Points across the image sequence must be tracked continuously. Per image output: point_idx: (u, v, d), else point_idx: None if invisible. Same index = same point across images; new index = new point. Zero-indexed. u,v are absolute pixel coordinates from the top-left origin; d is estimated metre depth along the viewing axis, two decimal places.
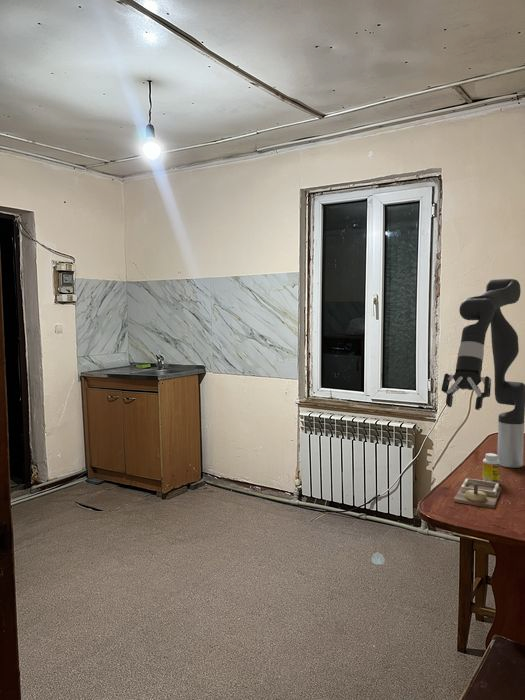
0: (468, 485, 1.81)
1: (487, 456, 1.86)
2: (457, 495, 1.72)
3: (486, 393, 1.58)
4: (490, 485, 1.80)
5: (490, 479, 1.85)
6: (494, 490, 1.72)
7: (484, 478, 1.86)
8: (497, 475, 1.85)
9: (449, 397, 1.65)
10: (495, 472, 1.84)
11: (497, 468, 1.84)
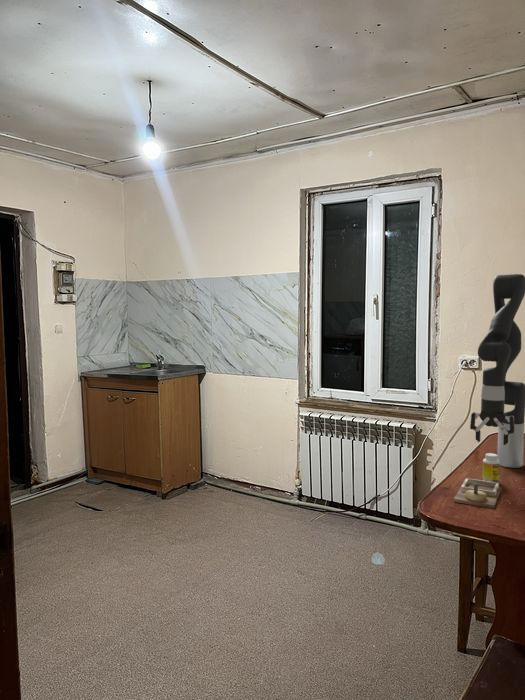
0: (468, 485, 1.81)
1: (487, 456, 1.86)
2: (457, 495, 1.72)
3: (512, 432, 1.81)
4: (490, 485, 1.80)
5: (490, 479, 1.85)
6: (494, 490, 1.72)
7: (484, 478, 1.86)
8: (497, 475, 1.85)
9: (478, 434, 1.87)
10: (495, 472, 1.84)
11: (497, 468, 1.84)
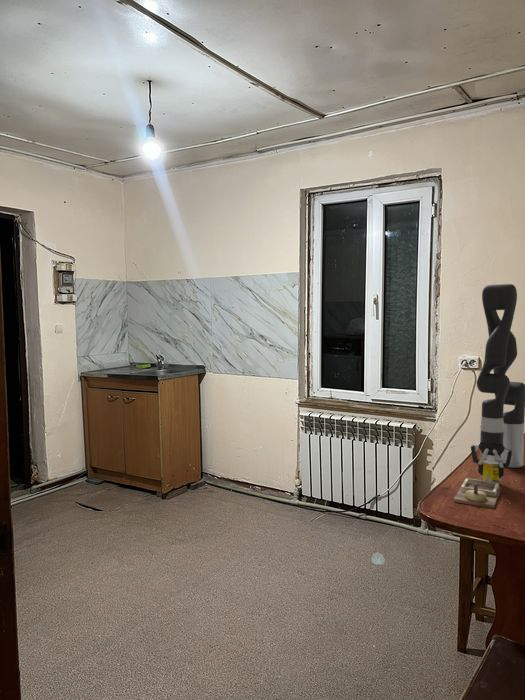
0: (468, 485, 1.81)
1: (487, 456, 1.86)
2: (457, 495, 1.72)
3: (507, 465, 1.83)
4: (490, 485, 1.80)
5: (490, 479, 1.85)
6: (494, 490, 1.72)
7: (484, 478, 1.86)
8: (497, 475, 1.85)
9: (481, 468, 1.87)
10: (496, 472, 1.84)
11: (497, 468, 1.84)
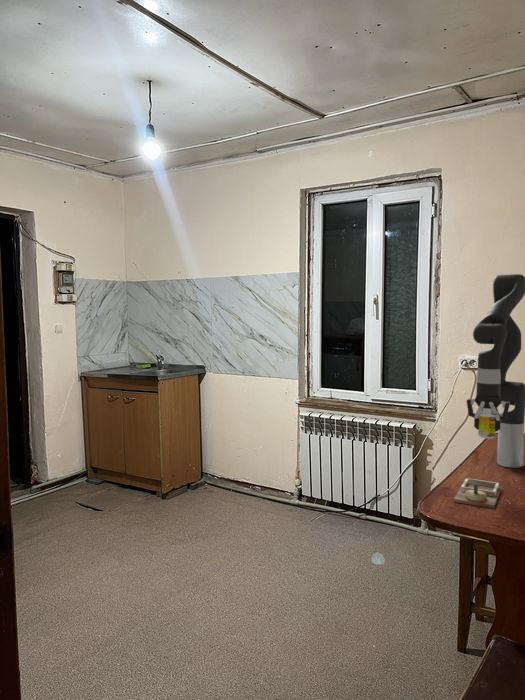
0: (468, 485, 1.81)
1: (483, 409, 1.80)
2: (457, 495, 1.72)
3: (504, 418, 1.77)
4: (490, 485, 1.80)
5: (486, 433, 1.79)
6: (494, 490, 1.72)
7: (480, 432, 1.80)
8: (493, 429, 1.79)
9: (477, 422, 1.82)
10: (492, 425, 1.78)
11: (494, 421, 1.78)
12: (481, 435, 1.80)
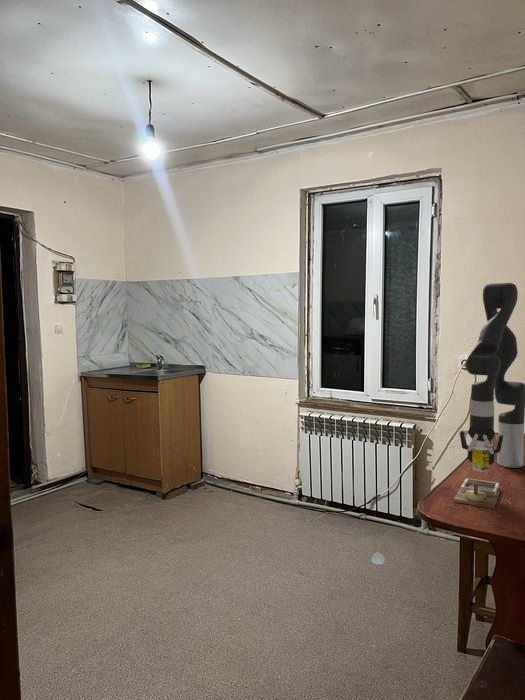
0: (468, 485, 1.81)
1: (477, 442, 1.75)
2: (457, 495, 1.72)
3: (498, 451, 1.73)
4: (490, 485, 1.80)
5: (480, 466, 1.74)
6: (494, 490, 1.72)
7: (473, 465, 1.76)
8: (487, 462, 1.74)
9: (470, 454, 1.77)
10: (486, 458, 1.74)
11: (487, 454, 1.74)
12: (474, 468, 1.76)
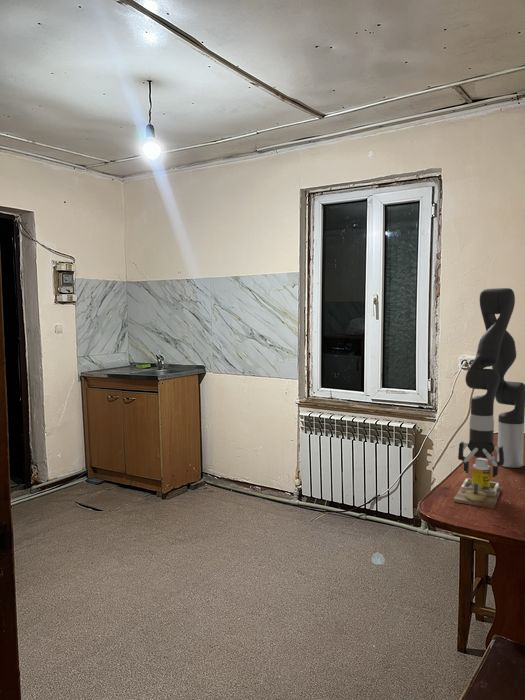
0: (468, 485, 1.81)
1: (477, 461, 1.76)
2: (457, 495, 1.72)
3: (502, 463, 1.72)
4: (490, 485, 1.80)
5: (480, 486, 1.75)
6: (494, 490, 1.72)
7: None
8: (487, 481, 1.75)
9: (466, 465, 1.78)
10: (486, 478, 1.74)
11: (487, 474, 1.75)
12: None
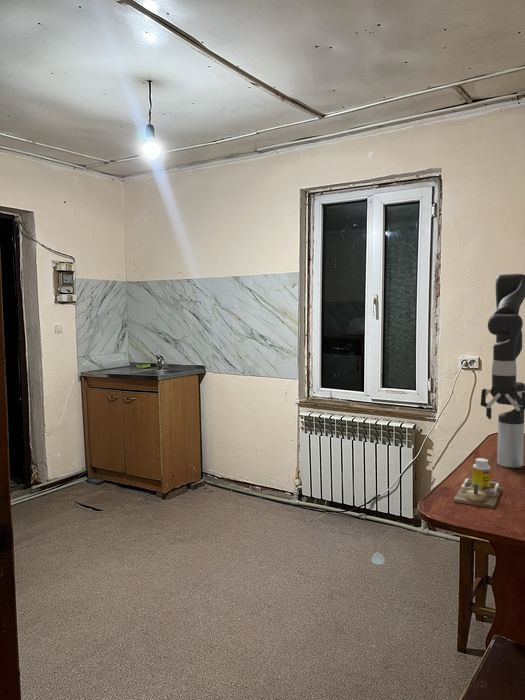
0: (468, 485, 1.81)
1: (477, 461, 1.76)
2: (457, 495, 1.72)
3: None
4: (490, 485, 1.80)
5: (480, 486, 1.75)
6: (494, 490, 1.72)
7: None
8: (487, 481, 1.75)
9: (489, 411, 1.80)
10: (486, 478, 1.74)
11: (487, 474, 1.75)
12: None
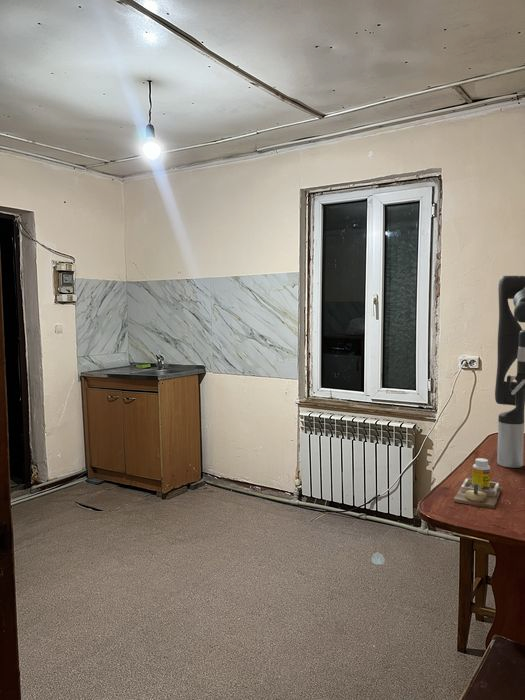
0: (468, 485, 1.81)
1: (477, 461, 1.76)
2: (457, 495, 1.72)
3: None
4: (490, 485, 1.80)
5: (480, 486, 1.75)
6: (494, 490, 1.72)
7: None
8: (487, 481, 1.75)
9: (514, 398, 1.83)
10: (486, 478, 1.74)
11: (487, 474, 1.75)
12: None
